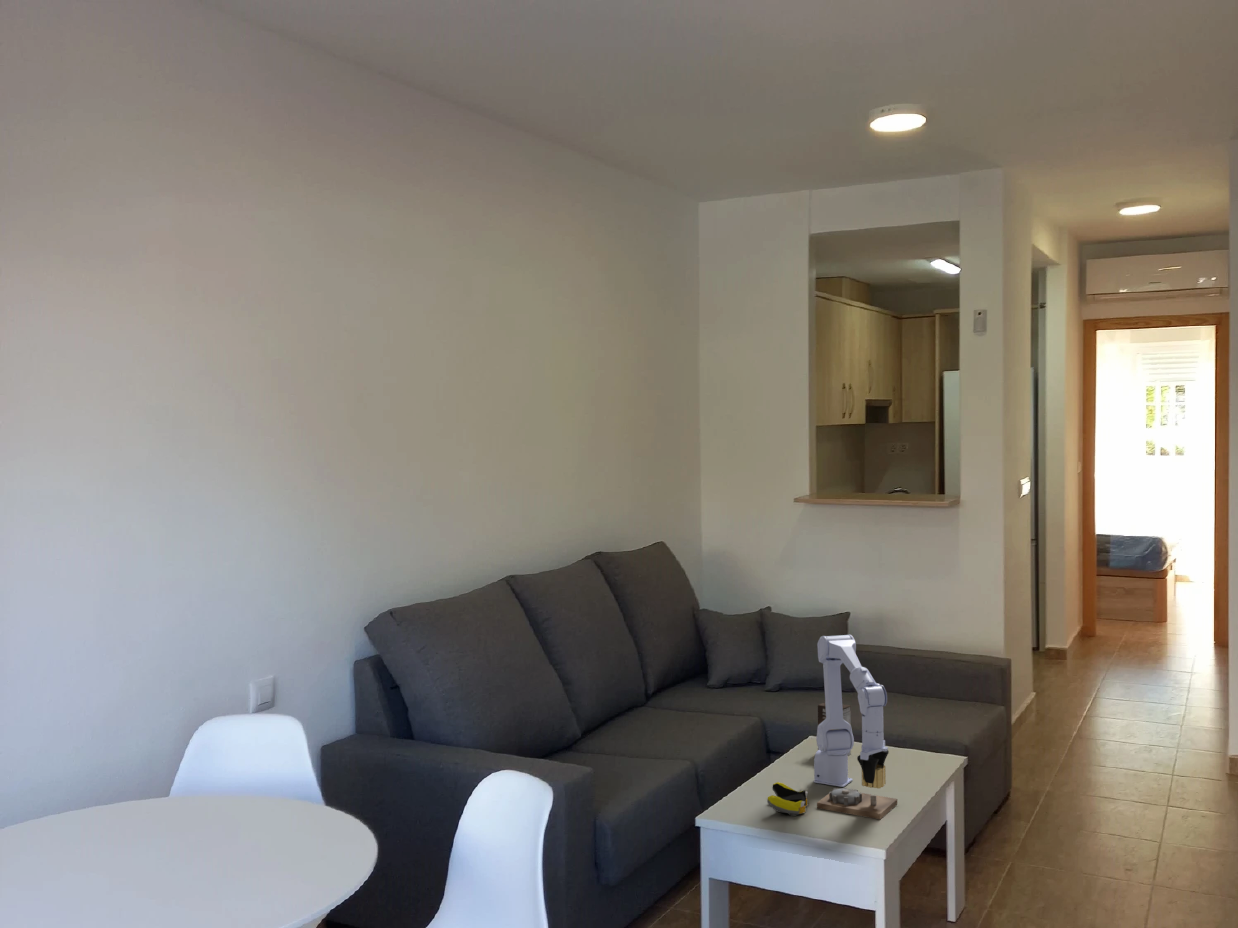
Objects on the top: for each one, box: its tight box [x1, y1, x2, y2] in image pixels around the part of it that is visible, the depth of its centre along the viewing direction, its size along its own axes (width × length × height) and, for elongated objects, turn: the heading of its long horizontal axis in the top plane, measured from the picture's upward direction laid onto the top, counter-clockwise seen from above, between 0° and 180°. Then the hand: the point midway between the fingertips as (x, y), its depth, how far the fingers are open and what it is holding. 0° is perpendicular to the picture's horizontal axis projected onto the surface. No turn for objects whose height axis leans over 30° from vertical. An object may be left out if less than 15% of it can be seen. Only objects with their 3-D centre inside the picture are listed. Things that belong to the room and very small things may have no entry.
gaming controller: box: [766, 781, 809, 817], centre depth 298 cm, size 15×6×10 cm
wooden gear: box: [861, 764, 887, 789], centre depth 296 cm, size 6×6×5 cm
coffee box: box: [817, 701, 852, 756], centre depth 349 cm, size 9×6×16 cm
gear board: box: [816, 787, 898, 820], centre depth 299 cm, size 18×14×4 cm
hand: (873, 779), depth 296 cm, fingers closed on wooden gear, 6 cm apart
